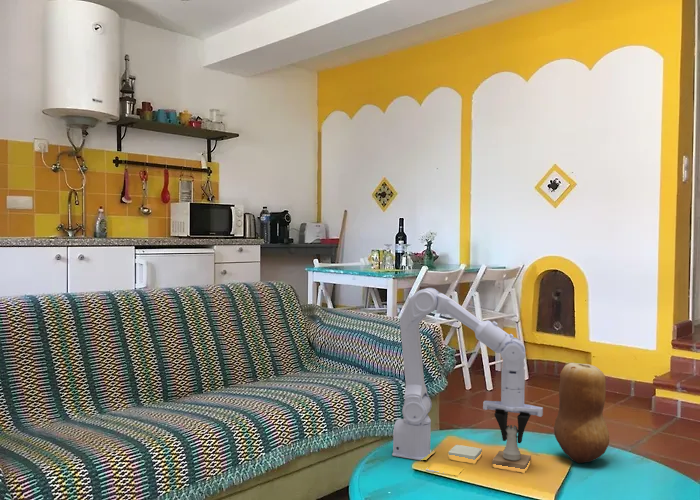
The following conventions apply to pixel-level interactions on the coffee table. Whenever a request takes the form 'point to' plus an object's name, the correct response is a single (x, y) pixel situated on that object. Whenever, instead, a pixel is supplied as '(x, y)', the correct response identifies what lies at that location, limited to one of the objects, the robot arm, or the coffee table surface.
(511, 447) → the rook chess piece
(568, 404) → the butternut squash
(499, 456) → the walnut block
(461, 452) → the grey-green block
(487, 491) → the coffee table surface
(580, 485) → the coffee table surface
